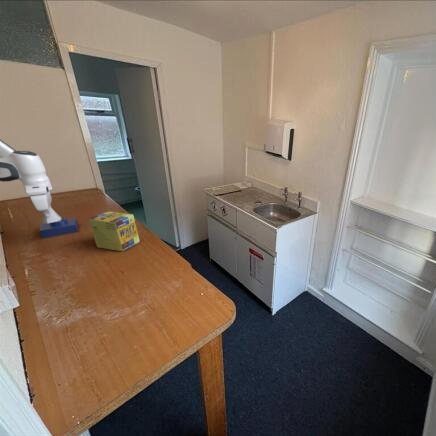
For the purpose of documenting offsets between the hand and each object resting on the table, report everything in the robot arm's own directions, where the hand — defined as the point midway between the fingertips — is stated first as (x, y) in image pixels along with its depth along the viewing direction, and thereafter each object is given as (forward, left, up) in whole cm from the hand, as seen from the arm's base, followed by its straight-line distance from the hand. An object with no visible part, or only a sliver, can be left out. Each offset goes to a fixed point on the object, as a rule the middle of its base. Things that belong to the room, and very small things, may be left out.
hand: (49, 214), depth 114 cm
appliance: (0, +12, -14) cm, 19 cm away
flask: (0, 0, -4) cm, 4 cm away
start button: (0, +14, -9) cm, 17 cm away
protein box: (+23, -23, -14) cm, 36 cm away
